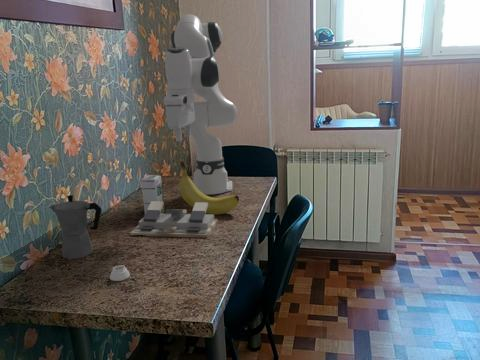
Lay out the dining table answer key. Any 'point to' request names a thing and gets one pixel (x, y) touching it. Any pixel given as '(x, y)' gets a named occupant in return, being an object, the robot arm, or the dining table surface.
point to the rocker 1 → (153, 211)
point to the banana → (204, 196)
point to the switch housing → (178, 221)
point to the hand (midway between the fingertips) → (183, 138)
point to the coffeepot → (76, 227)
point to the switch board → (174, 231)
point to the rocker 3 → (198, 212)
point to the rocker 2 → (175, 212)
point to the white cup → (119, 273)
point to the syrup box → (152, 190)
